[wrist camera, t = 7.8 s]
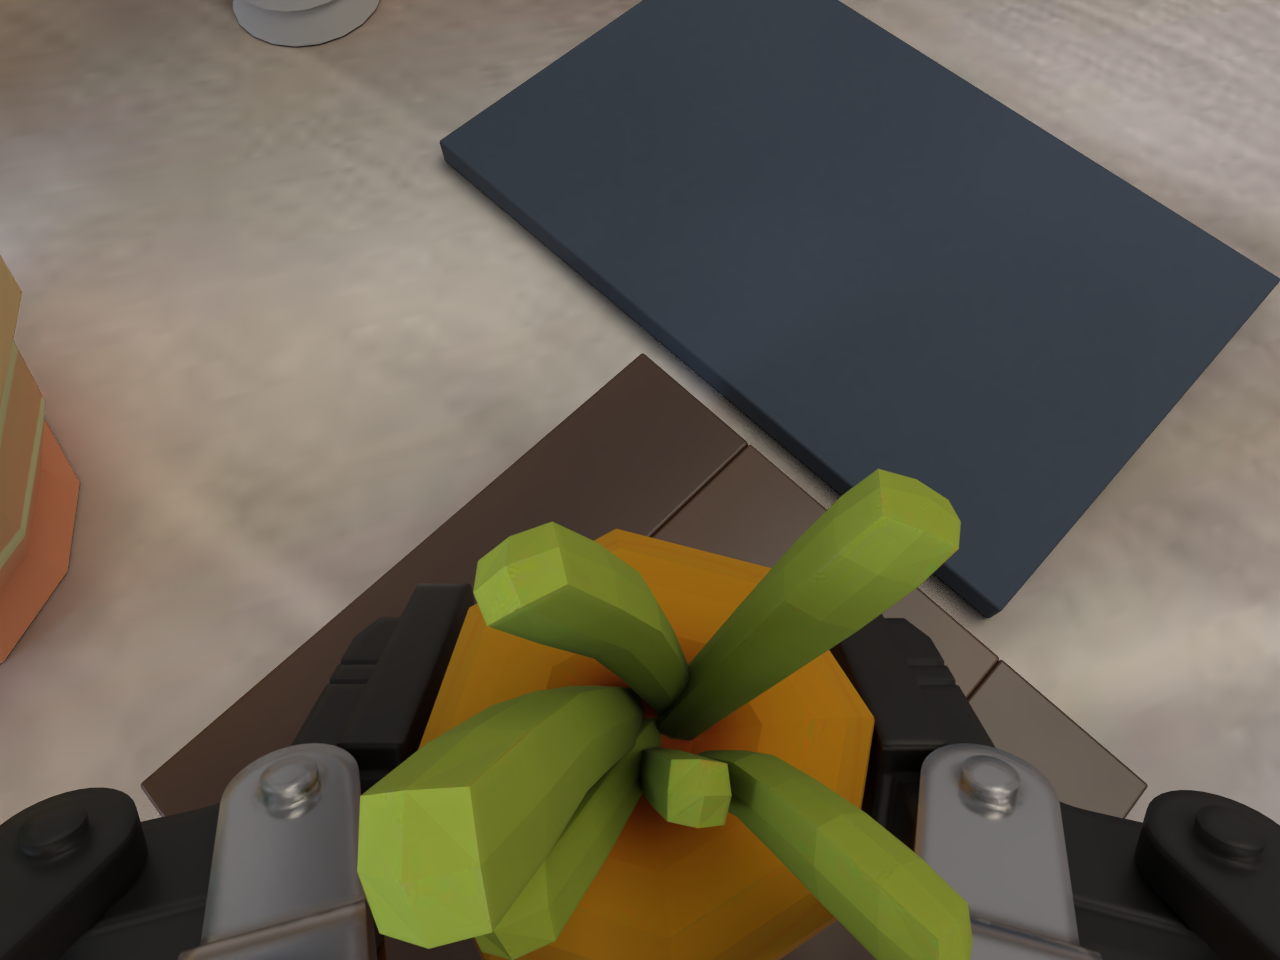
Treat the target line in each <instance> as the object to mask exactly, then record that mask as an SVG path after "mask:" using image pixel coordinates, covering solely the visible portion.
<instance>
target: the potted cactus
mask: <svg viewBox="0 0 1280 960" xmlns="http://www.w3.org/2000/svg"><path fill="white" fill-rule="evenodd" d="M21 295H22V291H21V290H20V288H19V286H18V284H17V283H16V281H15V279H14V278H13V276H12V274H11V272H10V271H9V269H8V267H7V266H6V264H5V262H4V260H3V259H2V257H1V255H0V664H1V663H2V662H4V661H5V659H6V658H7V657H8V655H9V654H10V652H11V651H12V649H13V648H14V647H15V645H16V644H17V642H18V641H19V639H20V638H21V637H22V635H23V634H24V632H25V631H26V630H27V628H28V627H29V625H30V624H31V622H32V621H33V620H34V618H35V617H36V615H37V614H38V613H39V611H40V610H41V608H42V607H43V605H44V604H45V603H46V601H47V600H48V598H49V597H50V595H51V594H52V593H53V591H54V590H55V588H56V587H57V586H58V584H59V583H60V581H61V580H62V578H63V577H64V576H65V574H66V573H67V571H68V566H69V559H70V551H71V544H72V537H73V530H74V523H75V515H76V508H77V501H78V494H79V487H80V482H79V480H78V478H77V476H76V474H75V473H74V471H73V469H72V467H71V465H70V464H69V462H68V460H67V458H66V456H65V455H64V453H63V451H62V449H61V447H60V446H59V444H58V442H57V440H56V438H55V437H54V435H53V433H52V431H51V429H50V428H49V426H48V424H47V422H46V420H45V419H44V416H45V400H44V398H43V396H42V394H41V392H40V390H39V388H38V386H37V384H36V383H35V381H34V379H33V377H32V375H31V373H30V371H29V369H28V367H27V365H26V363H25V362H24V360H23V358H22V356H21V354H20V352H19V350H18V348H17V346H16V344H15V343H14V341H13V337H14V332H15V327H16V321H17V316H18V311H19V305H20V300H21Z"/></svg>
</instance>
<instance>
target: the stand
mask: <svg viewBox="0 0 1280 960" xmlns="http://www.w3.org/2000/svg"><path fill="white" fill-rule="evenodd" d="M826 511H827V510H826V509H825V508H824V507H823V506H822V505H820V504H819V503H818V502H817V501H816V500H815V499H813V498H812V497H811V496H810V495H809V494H808V493H806V492H805V491H804V490H803V489H802V488H801V487H799V486H798V485H797V484H796V483H795V482H794V481H792V480H791V479H790V478H789V477H788V476H787V475H785V474H784V473H783V472H782V471H781V470H780V469H778V468H777V467H776V466H775V465H774V464H773V463H771V462H770V461H769V460H768V459H767V458H766V457H764V456H763V455H762V454H761V453H760V452H759V451H757V450H756V449H755V448H754V447H753V446H751V445H749V446H748V443H747V442H746V441H745V440H744V439H743V438H742V437H741V436H739V435H738V434H737V433H736V432H735V431H734V430H732V429H731V428H730V427H729V426H728V425H727V424H725V423H724V422H723V421H722V420H721V419H720V418H718V417H717V416H716V415H715V414H714V413H713V412H711V411H710V410H709V409H708V408H707V407H706V406H704V405H703V404H702V403H701V402H700V401H699V400H697V399H696V398H695V397H694V396H693V395H692V394H690V393H689V392H688V391H687V390H686V389H685V388H683V387H682V386H681V385H680V384H679V383H678V382H676V381H675V380H674V379H673V378H672V377H671V376H669V375H668V374H667V373H666V372H665V371H664V370H662V369H661V368H660V367H659V366H658V365H657V364H655V363H654V362H653V361H652V360H651V359H650V358H648V357H647V356H646V355H645V354H641V355H639V356H638V357H637V358H636V359H635V360H634V361H632V362H631V363H630V364H629V365H628V366H627V367H625V368H624V369H623V370H622V371H621V372H620V373H618V374H617V375H616V376H615V377H614V378H613V379H612V380H610V381H609V382H608V383H607V384H606V385H605V386H603V387H602V388H601V389H600V390H599V391H598V392H596V393H595V394H594V395H593V396H592V397H591V398H589V399H588V400H587V401H586V402H585V403H584V404H582V405H581V406H580V407H579V408H578V409H577V410H575V411H574V412H573V413H572V414H571V415H570V416H568V417H567V418H566V419H565V420H564V421H563V422H561V423H560V424H559V425H558V426H557V427H556V428H554V429H553V430H552V431H551V432H550V433H549V434H547V435H546V436H545V437H544V438H543V439H542V440H541V441H539V442H538V443H537V444H536V445H535V446H534V447H532V448H531V449H530V450H529V451H528V452H527V453H525V454H524V455H523V456H522V457H521V458H520V459H518V460H517V461H516V462H515V463H514V464H513V465H511V466H510V467H509V468H508V469H507V470H506V471H504V472H503V473H502V474H501V475H500V476H499V477H497V478H496V479H495V480H494V481H493V482H492V483H490V484H489V485H488V486H487V487H486V488H485V489H483V490H482V491H481V492H480V493H479V494H478V495H476V496H475V497H474V498H473V499H472V500H471V501H470V502H468V503H467V504H466V505H465V506H464V507H463V508H461V509H460V510H459V511H458V512H457V513H456V514H454V515H453V516H452V517H451V518H450V519H449V520H447V521H446V522H445V523H444V524H443V525H442V526H440V527H439V528H438V529H437V530H436V531H435V532H433V533H432V534H431V535H430V536H429V537H428V538H426V539H425V540H424V541H423V542H422V543H421V544H419V545H418V546H417V547H416V548H415V549H414V550H412V551H411V552H410V553H409V554H408V555H407V556H405V557H404V558H403V559H402V560H401V561H400V562H398V563H397V564H396V565H395V566H394V567H393V568H392V569H390V570H389V571H388V572H387V573H386V574H385V575H383V576H382V577H381V578H380V579H379V580H378V581H376V582H375V583H374V584H373V585H372V586H371V587H369V588H368V589H367V590H366V591H365V592H364V593H362V594H361V595H360V596H359V597H358V598H357V599H355V600H354V601H353V602H352V603H351V604H350V605H348V606H347V607H346V608H345V609H344V610H343V611H341V612H340V613H339V614H338V615H337V616H336V617H334V618H333V619H332V620H331V621H330V622H329V623H327V624H326V625H325V626H324V627H323V628H322V629H321V630H319V631H318V632H317V633H316V634H315V635H314V636H312V637H311V638H310V639H309V640H308V641H307V642H305V643H304V644H303V645H302V646H301V647H300V648H298V649H297V650H296V651H295V652H294V653H293V654H291V655H290V656H289V657H288V658H287V659H286V660H284V661H283V662H282V663H281V664H280V665H279V666H277V667H276V668H275V669H274V670H273V671H272V672H270V673H269V674H268V675H267V676H266V677H265V678H263V679H262V680H261V681H260V682H259V683H258V684H256V685H255V686H254V687H253V688H252V689H251V690H250V691H248V692H247V693H246V694H245V695H244V696H243V697H241V698H240V699H239V700H238V701H237V702H236V703H234V704H233V705H232V706H231V707H230V708H229V709H227V710H226V711H225V712H224V713H223V714H222V715H220V716H219V717H218V718H217V719H216V720H215V721H213V722H212V723H211V724H210V725H209V726H208V727H206V728H205V729H204V730H203V731H202V732H201V733H199V734H198V735H197V736H196V737H195V738H194V739H192V740H191V741H190V742H189V743H188V744H187V745H185V746H184V747H183V748H182V749H181V750H180V751H179V752H177V753H176V754H175V755H174V756H173V757H172V758H170V759H169V760H168V761H167V762H166V763H165V764H163V765H162V766H161V767H160V768H159V769H158V770H156V771H155V772H154V773H153V774H152V775H151V776H149V777H148V778H147V779H146V780H145V781H144V782H142V784H141V788H142V790H143V791H144V792H145V794H146V795H147V797H148V798H149V799H150V801H151V802H152V804H153V805H154V806H155V808H156V809H157V811H158V812H159V813H160V815H161V816H162V817H165V816H169V815H174V814H178V813H183V812H187V811H191V810H196V809H200V808H204V807H207V806H211V805H215V804H217V803H220V802H221V799H222V795H223V793H224V791H225V789H226V787H227V785H228V784H229V783H230V782H231V780H232V779H233V778H234V777H235V776H236V775H237V774H238V773H239V772H240V771H241V770H242V769H244V768H245V767H246V766H248V765H249V764H250V763H252V762H254V761H255V760H257V759H259V758H261V757H263V756H265V755H267V754H269V753H271V752H274V751H277V750H279V749H282V748H286V747H290V746H291V744H292V742H293V741H294V739H295V737H296V736H297V734H298V732H299V730H300V729H301V727H302V725H303V724H304V722H305V720H306V718H307V717H308V715H309V713H310V712H311V710H312V708H313V707H314V705H315V703H316V701H317V700H318V698H319V696H320V695H321V693H322V691H323V689H324V688H325V686H326V684H329V682H330V677H331V676H332V674H333V672H334V671H335V669H336V667H337V666H338V665H340V664H341V659H342V657H343V655H344V654H345V652H346V650H347V648H348V647H349V645H350V643H351V642H352V640H353V638H354V637H355V636H356V635H358V634H359V633H360V632H361V631H363V630H364V629H365V628H367V627H368V626H369V625H371V624H372V623H373V622H375V621H376V620H377V619H379V618H380V617H401V615H402V613H403V611H404V609H405V607H406V605H407V604H408V602H409V600H410V598H411V596H412V594H413V592H414V590H415V588H416V586H417V585H418V584H470V585H471V587H472V590H474V584H475V577H476V570H477V564H478V561H479V560H480V559H481V558H482V557H484V556H485V555H486V554H488V553H489V552H490V551H491V550H493V549H494V548H495V547H497V546H498V545H499V544H500V543H502V542H503V541H504V540H506V539H507V538H508V537H509V536H512V535H515V534H518V533H521V532H524V531H526V530H529V529H532V528H535V527H538V526H541V525H544V524H547V523H550V522H555V523H557V524H559V525H561V526H563V527H565V528H567V529H570V530H572V531H574V532H576V533H578V534H580V535H582V536H584V537H587V538H589V539H591V540H593V541H594V540H596V539H598V538H600V537H602V536H603V535H605V534H607V533H609V532H611V531H613V530H615V529H620V530H624V531H628V532H631V533H635V534H639V535H643V536H647V537H651V538H655V539H659V540H663V541H667V542H671V543H675V544H679V545H683V546H686V547H690V548H694V549H698V550H702V551H706V552H710V553H714V554H718V555H722V556H726V557H730V558H734V559H737V560H741V561H745V562H749V563H753V564H757V565H761V566H765V567H769V568H772V567H773V566H774V565H775V564H776V563H777V562H778V561H779V560H780V558H781V557H782V556H783V555H784V554H785V553H786V552H787V550H788V549H789V548H790V547H791V546H792V545H793V544H794V542H795V541H796V540H797V539H798V538H799V537H800V536H801V535H802V534H803V533H804V532H805V531H806V530H807V529H808V528H809V527H810V526H811V525H812V524H813V523H815V522H816V521H817V520H818V519H819V518H820V517H821V516H822V515H823V514H824V513H825V512H826ZM473 595H474V593H473ZM474 604H477V601H476V598H475V596H474ZM882 615H883V617H884V618H905V619H906V620H908V621H909V622H910V623H912V624H913V625H914V626H915V627H917V628H918V629H919V630H921V631H922V632H923V633H925V634H926V635H927V636H929V637H930V638H931V639H932V641H933V643H934V644H935V646H936V648H937V650H938V651H939V653H940V655H941V656H942V658H943V660H944V665H945V666H948V668H949V670H950V671H951V673H952V675H953V676H954V678H955V680H956V685H959V687H960V688H961V690H962V692H963V693H964V695H965V697H966V698H967V700H968V702H969V703H970V705H971V707H972V708H973V710H974V712H975V714H976V715H977V717H978V719H979V720H980V722H981V724H982V725H983V727H984V729H985V730H986V732H987V734H988V735H989V737H990V739H991V740H992V742H993V744H994V746H995V747H996V748H998V749H1001V750H1003V751H1006V752H1009V753H1011V754H1013V755H1015V756H1017V757H1019V758H1021V759H1023V760H1025V761H1026V762H1028V763H1030V764H1031V765H1032V766H1034V767H1035V768H1036V769H1038V770H1039V771H1040V772H1041V773H1042V774H1043V775H1044V776H1045V777H1046V778H1047V779H1048V780H1049V782H1050V783H1051V784H1052V785H1053V787H1054V789H1055V791H1056V793H1057V795H1058V799H1059V801H1060V802H1063V803H1065V804H1068V805H1071V806H1074V807H1077V808H1081V809H1085V810H1089V811H1093V812H1097V813H1102V814H1106V815H1111V816H1115V817H1119V818H1124V819H1125V818H1126V816H1127V815H1128V813H1129V812H1130V811H1131V809H1132V808H1133V806H1134V805H1135V804H1136V802H1137V801H1138V799H1139V798H1140V797H1141V795H1142V794H1143V792H1144V791H1145V790H1146V788H1147V784H1146V783H1145V782H1144V781H1143V780H1142V779H1140V778H1139V777H1138V776H1137V775H1136V774H1135V773H1133V772H1132V771H1131V770H1130V769H1129V768H1128V767H1126V766H1125V765H1124V764H1123V763H1122V762H1121V761H1119V760H1118V759H1117V758H1116V757H1115V756H1114V755H1112V754H1111V753H1110V752H1109V751H1108V750H1107V749H1105V748H1104V747H1103V746H1102V745H1101V744H1100V743H1098V742H1097V741H1096V740H1095V739H1094V738H1093V737H1091V736H1090V735H1089V734H1088V733H1087V732H1086V731H1084V730H1083V729H1082V728H1081V727H1080V726H1079V725H1077V724H1076V723H1075V722H1074V721H1073V720H1072V719H1070V718H1069V717H1068V716H1067V715H1066V714H1065V713H1063V712H1062V711H1061V710H1060V709H1059V708H1058V707H1056V706H1055V705H1054V704H1053V703H1052V702H1051V701H1049V700H1048V699H1047V698H1046V697H1045V696H1044V695H1042V694H1041V693H1040V692H1039V691H1038V690H1037V689H1035V688H1034V687H1033V686H1032V685H1031V684H1030V683H1028V682H1027V681H1026V680H1025V679H1024V678H1023V677H1021V676H1020V675H1019V674H1018V673H1017V672H1016V671H1014V670H1013V669H1012V668H1011V667H1010V666H1009V665H1007V664H1006V663H1005V662H1004V661H1002V660H999V658H998V656H997V655H996V654H994V653H993V652H992V651H991V650H990V649H989V648H987V647H986V646H985V645H984V644H983V643H982V642H980V641H979V640H978V639H977V638H976V637H975V636H973V635H972V634H971V633H970V632H969V631H968V630H966V629H965V628H964V627H963V626H962V625H960V624H959V623H958V622H957V621H956V620H955V619H953V618H952V617H951V616H950V615H949V614H948V613H946V612H945V611H944V610H943V609H942V608H941V607H939V606H938V605H937V604H936V603H935V602H934V601H932V600H931V599H930V598H929V597H928V596H927V595H925V594H924V593H923V592H922V591H921V590H920V589H918V588H916V589H915V590H913V591H912V592H910V593H909V594H908V595H906V596H905V597H904V598H902V599H901V600H899V601H898V602H897V603H895V604H894V605H893V606H891V607H890V608H889V609H887V610H886V611H884V612H883V613H882ZM998 660H999V661H998ZM385 939H386V945H387V951H388V960H482V959H481V956H480V954H479V952H478V949H477V947H476V945H475V943H474V940H473V938H469V939H465V940H461V941H457V942H453V943H449V944H445V945H442V946H438V947H434V948H430V949H428V948H424V947H421V946H418V945H415V944H412V943H408V942H405V941H402V940H399V939H396V938H392V937H389V936H386V935H385ZM780 960H876V959H875V958H874V957H873V956H872V955H871V954H870V953H869V952H868V951H867V950H866V949H865V947H864V946H863V945H862V944H861V943H860V942H859V941H858V940H857V939H856V938H855V937H854V936H853V935H852V934H851V933H850V932H849V931H848V930H847V929H846V928H845V927H844V926H843V925H842V924H841V923H840V922H839V921H838V920H837V921H835V922H834V923H832V924H831V925H829V926H828V927H826V928H825V929H824V930H822V931H821V932H819V933H818V934H816V935H815V936H813V937H812V938H810V939H809V940H808V941H806V942H805V943H803V944H802V945H800V946H799V947H797V948H796V949H794V950H793V951H792V952H790V953H789V954H787V955H786V956H784V957H783V958H781V959H780Z"/></svg>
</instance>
